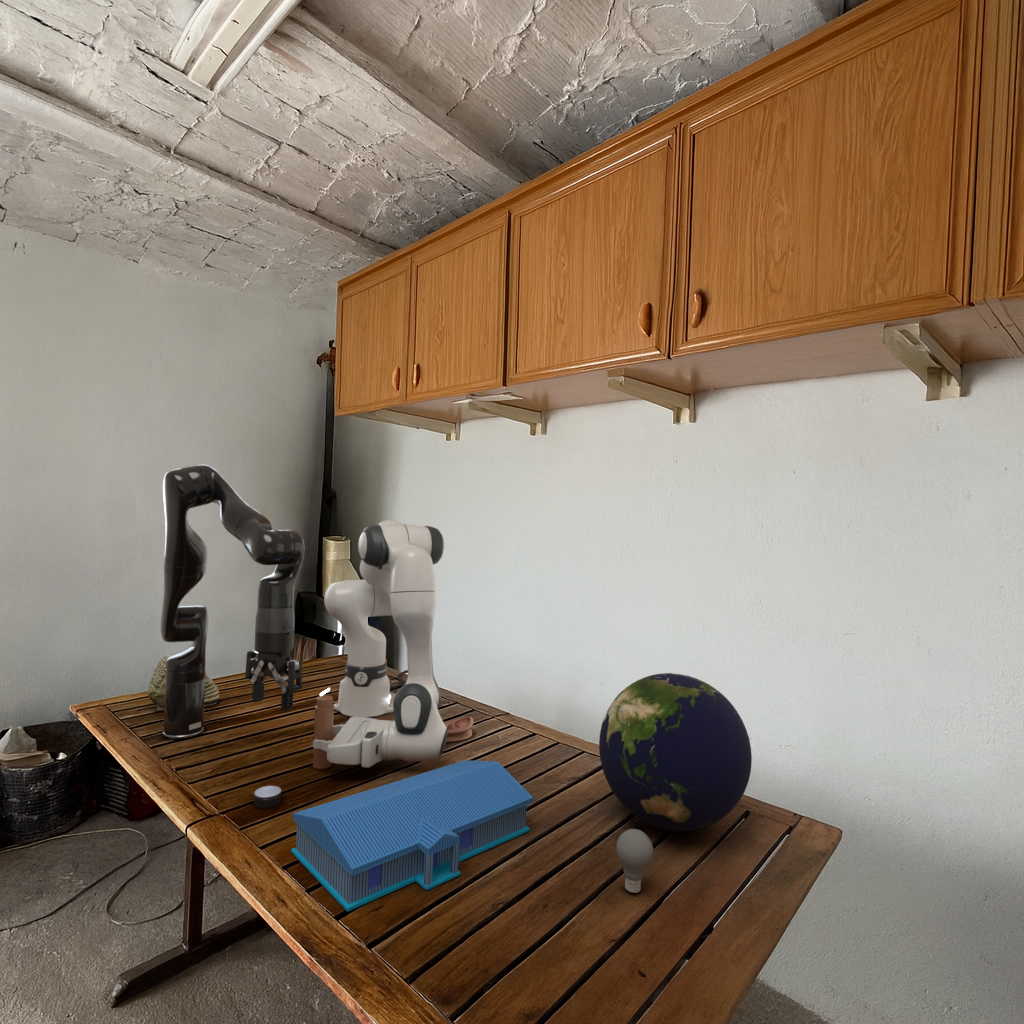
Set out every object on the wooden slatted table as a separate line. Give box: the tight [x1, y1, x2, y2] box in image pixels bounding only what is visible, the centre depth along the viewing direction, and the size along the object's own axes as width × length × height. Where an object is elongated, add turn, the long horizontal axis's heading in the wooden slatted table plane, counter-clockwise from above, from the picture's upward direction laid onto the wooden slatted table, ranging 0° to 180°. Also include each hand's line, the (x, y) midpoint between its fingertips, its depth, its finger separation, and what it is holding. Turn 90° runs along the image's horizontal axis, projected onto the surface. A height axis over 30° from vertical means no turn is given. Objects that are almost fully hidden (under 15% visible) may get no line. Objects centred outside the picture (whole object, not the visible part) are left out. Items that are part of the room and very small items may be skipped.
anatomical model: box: [444, 715, 474, 743], centre depth 171 cm, size 13×4×12 cm
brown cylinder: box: [312, 694, 335, 770], centre depth 149 cm, size 4×4×16 cm
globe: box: [598, 672, 753, 832], centre depth 129 cm, size 30×30×30 cm
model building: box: [290, 759, 534, 912], centre depth 117 cm, size 39×24×10 cm, turn 132°
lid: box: [253, 785, 282, 809], centre depth 131 cm, size 5×5×2 cm
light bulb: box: [615, 828, 654, 894], centre depth 106 cm, size 6×6×10 cm
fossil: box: [147, 654, 221, 712], centre depth 185 cm, size 9×18×15 cm, turn 132°
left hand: (272, 705), depth 130 cm, fingers open, 8 cm apart
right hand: (319, 736), depth 149 cm, fingers open, 7 cm apart
